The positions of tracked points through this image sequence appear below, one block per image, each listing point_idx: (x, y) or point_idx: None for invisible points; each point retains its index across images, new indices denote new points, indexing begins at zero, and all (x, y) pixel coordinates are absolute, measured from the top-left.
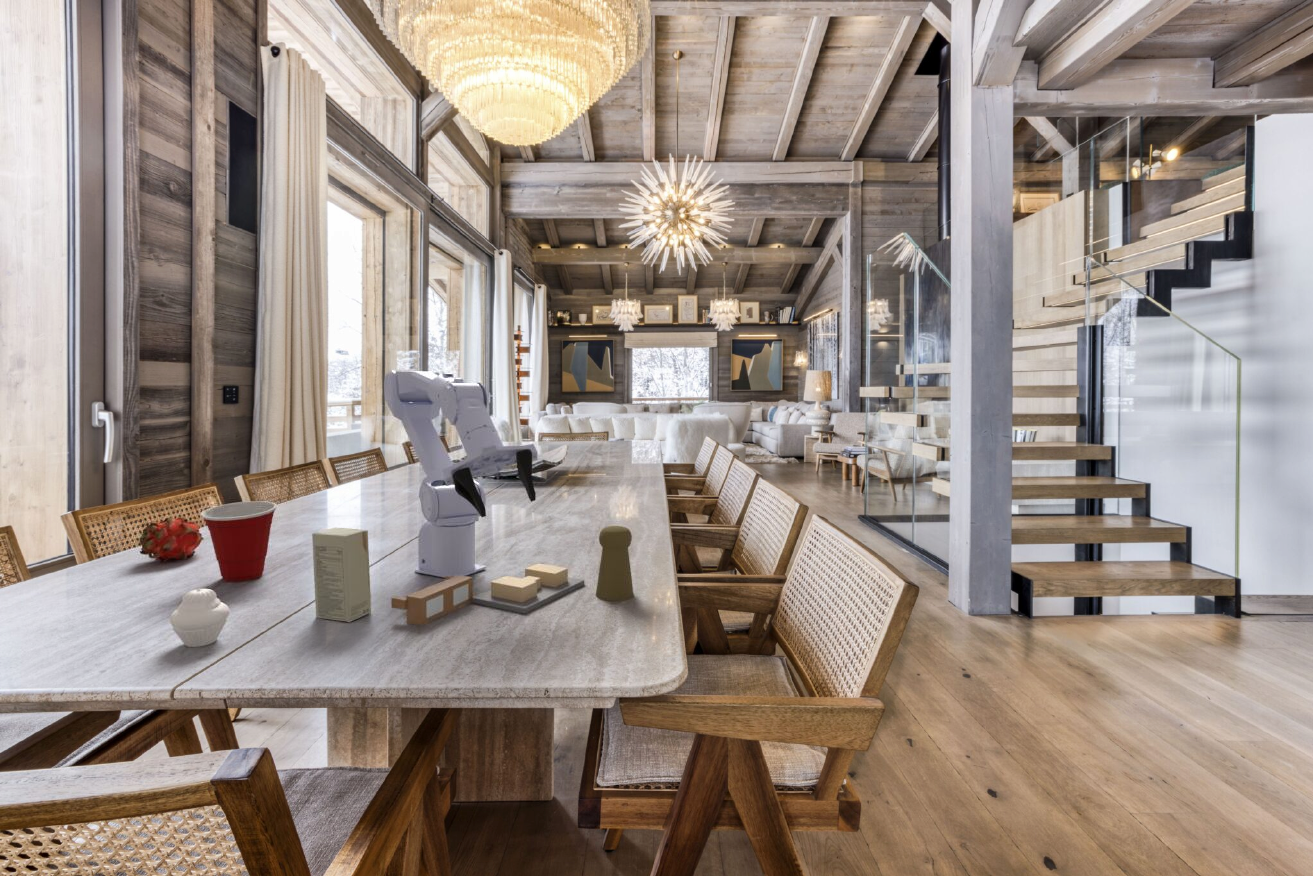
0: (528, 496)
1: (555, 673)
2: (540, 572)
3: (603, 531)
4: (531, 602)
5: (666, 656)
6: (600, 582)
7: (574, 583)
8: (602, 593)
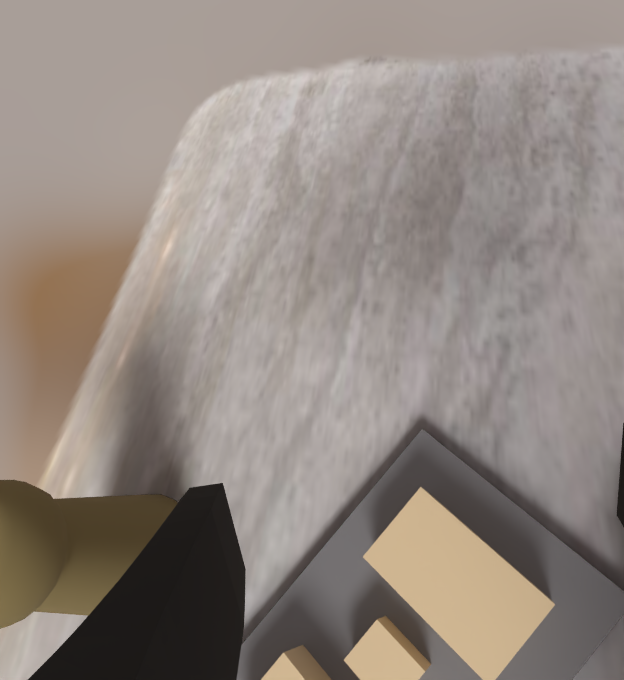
0: (241, 638)
1: (377, 105)
2: None
3: (13, 532)
4: (398, 482)
5: (180, 170)
6: None
7: None
8: None
